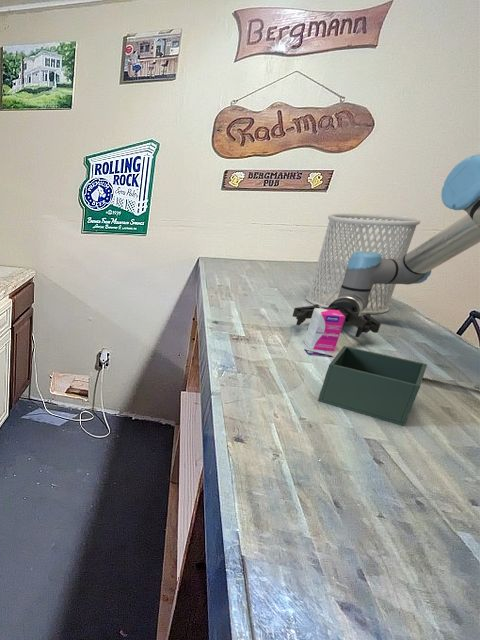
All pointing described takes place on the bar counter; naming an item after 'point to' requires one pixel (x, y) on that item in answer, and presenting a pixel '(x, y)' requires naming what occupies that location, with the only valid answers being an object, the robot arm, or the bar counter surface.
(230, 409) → the bar counter surface
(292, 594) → the bar counter surface
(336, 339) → the supplement box
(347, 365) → the bin
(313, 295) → the wastebasket
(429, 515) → the bar counter surface
